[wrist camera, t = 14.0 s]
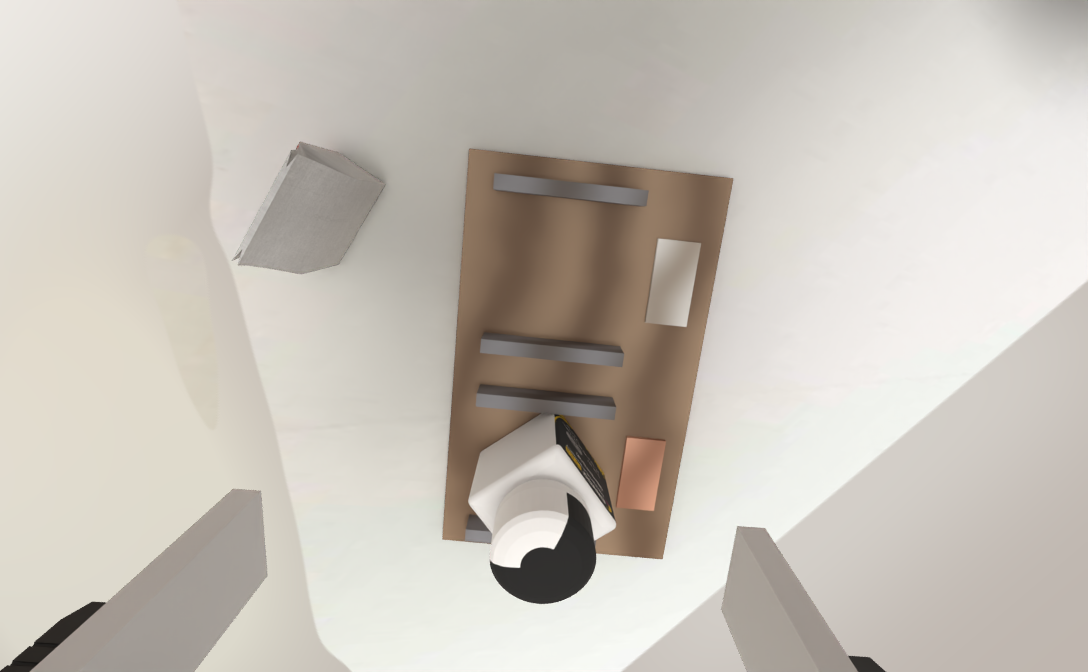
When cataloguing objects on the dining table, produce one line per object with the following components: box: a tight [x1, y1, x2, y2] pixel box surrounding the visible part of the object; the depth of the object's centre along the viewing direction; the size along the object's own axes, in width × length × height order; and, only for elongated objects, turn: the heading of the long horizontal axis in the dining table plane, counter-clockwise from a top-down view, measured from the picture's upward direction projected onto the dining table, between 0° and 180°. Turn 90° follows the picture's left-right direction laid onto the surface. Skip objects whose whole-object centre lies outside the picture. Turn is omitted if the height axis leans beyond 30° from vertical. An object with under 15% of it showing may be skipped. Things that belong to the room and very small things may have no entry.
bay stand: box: [442, 149, 733, 559], centre depth 38 cm, size 18×30×3 cm, turn 174°
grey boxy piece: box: [232, 142, 385, 274], centre depth 31 cm, size 4×7×10 cm, turn 146°
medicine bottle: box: [468, 413, 616, 604], centre depth 34 cm, size 7×7×12 cm
